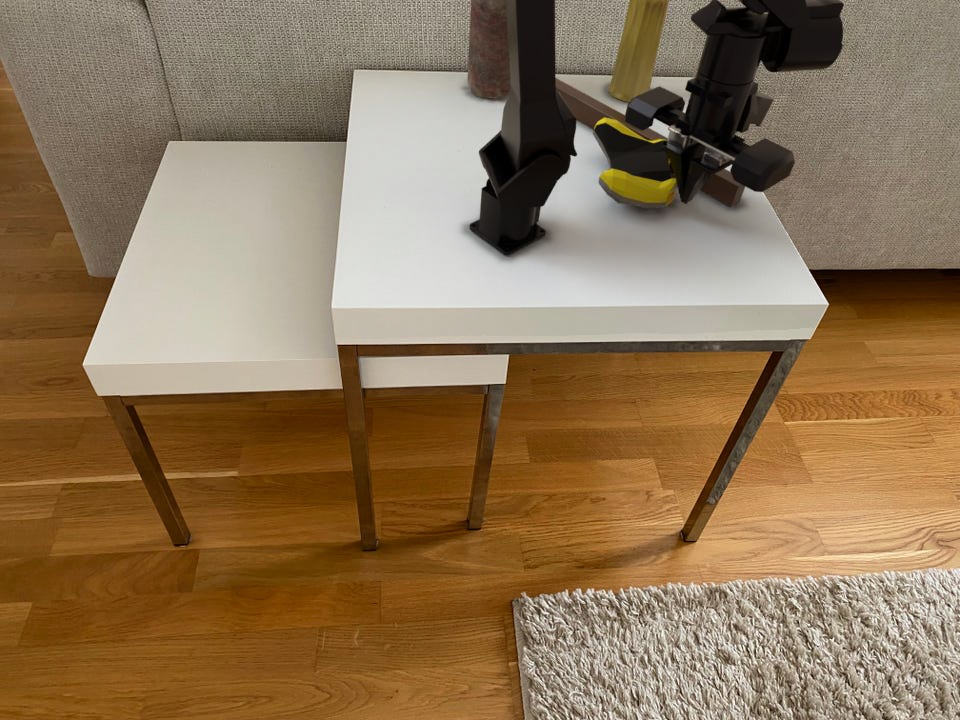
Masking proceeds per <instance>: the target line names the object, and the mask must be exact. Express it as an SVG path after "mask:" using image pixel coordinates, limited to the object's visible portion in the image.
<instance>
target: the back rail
mask: <svg viewBox="0 0 960 720" xmlns="http://www.w3.org/2000/svg"><path fill="white" fill-rule="evenodd" d="M556 91H559V92H560V94H561V96H562V97H563V99H564V100H565V102H566V103H567V105H568V107H569V108H570V110H571V111H572V113H573V114H574V116H575V118H576V121H578V122H579V123H581V124H583V125H585V126H586V127H588V128H590V129H592V130H593V131H594V127H595V125H596V123H597V122H598V121H599V120H601V119H603V118H609V119H613V120H617V121H618V122H620V123H621V124H623V125H624V126H626V127H627V128H628V129H630V130H631V131H633V132H634V133H636V134H638V135H639V136H641V137H643V138H644V139H646V140H647V141H654V140H658V139H664V140H667V139H668V137H667V136H665V135H663V134H661V133H659V132H657V131H656V130H653V129H652V128H650V127H649V128H647V129H645V130H643V131H642V130H640V129H638V128H636V127H634V126H632V125H630V124H629V123H627V122H625V113H624V114H623V113H622V112H620V111H618V110H616V109H614V108H612V107H611V106H609V105H607V104H606V103H603V102H602V101H600V100H598V99H596V98H594V97H592V96H590V95H589V94H586V93H585V92H583V91H581V90H579V89H577V88H575V87H573V86H572V85H569V84H568V83H566V82H565V81H562V80H561V79H559V78H558V77H556ZM668 158H669V156H668ZM669 168H670V172H671V175H673V176H675V174H674V171H673V168H672V165H671V162H670V165H669ZM745 189H746V187H745V186H743V185H742V184H740V183H738V182H736V181H734V179H733V177H732V174H731V172H730V170H728V169H726V168H725V169H723V170H721V171H719V172H718V173H716V174H713V175H712V176H711V177H710V178H709V179H708V180H707V182H706V183H705V184H704V185H703V187H702V188H701V189H700V190H699V191H701V192H703V193H705V194H706V195H708V196H710V197H712V198H713V199H715V200H717V201H719V202H721V203H722V204H724V205H726V206H728V207H730V208H732V207H733V206H735V205H737V204H738V203H740V201H741V199H742V197H743V195H744V192H745Z"/></svg>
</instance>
